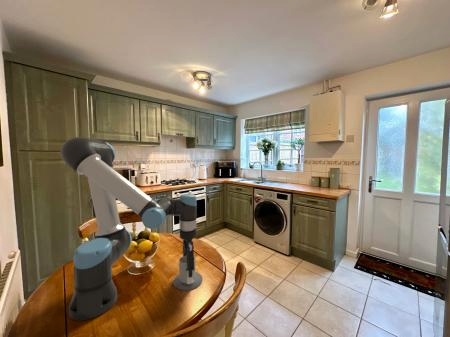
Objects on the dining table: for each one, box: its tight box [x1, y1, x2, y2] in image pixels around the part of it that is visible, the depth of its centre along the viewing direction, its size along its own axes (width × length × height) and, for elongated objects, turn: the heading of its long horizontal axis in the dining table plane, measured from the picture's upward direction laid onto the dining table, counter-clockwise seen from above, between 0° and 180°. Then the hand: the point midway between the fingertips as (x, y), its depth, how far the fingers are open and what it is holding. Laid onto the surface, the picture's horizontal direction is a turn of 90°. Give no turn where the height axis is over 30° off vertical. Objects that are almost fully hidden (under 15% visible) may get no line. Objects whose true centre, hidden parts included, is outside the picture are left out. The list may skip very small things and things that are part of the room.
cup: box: [178, 255, 196, 283], centre depth 87 cm, size 7×10×9 cm
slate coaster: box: [173, 271, 203, 291], centre depth 87 cm, size 13×13×1 cm
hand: (187, 276), depth 87 cm, fingers closed on cup, 10 cm apart
